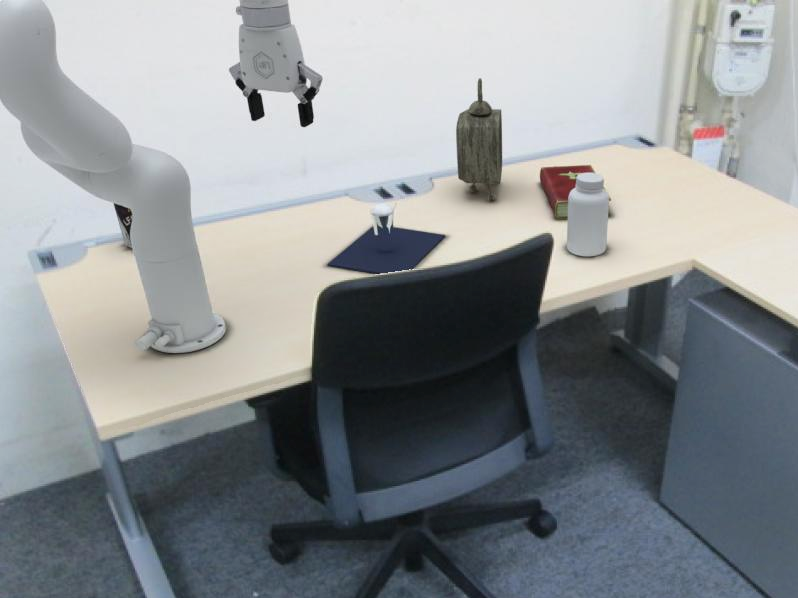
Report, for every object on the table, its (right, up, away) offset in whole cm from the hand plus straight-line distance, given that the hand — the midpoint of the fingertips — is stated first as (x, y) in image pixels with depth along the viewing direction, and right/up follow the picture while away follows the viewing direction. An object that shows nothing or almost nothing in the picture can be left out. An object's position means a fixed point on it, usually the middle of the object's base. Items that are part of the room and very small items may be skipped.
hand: (282, 121), depth 156 cm
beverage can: (-36, -17, +25) cm, 47 cm away
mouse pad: (+14, -18, +23) cm, 33 cm away
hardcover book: (+52, -3, +46) cm, 70 cm away
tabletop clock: (+31, -1, +49) cm, 58 cm away
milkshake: (+14, -18, +23) cm, 33 cm away
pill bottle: (+54, -18, +25) cm, 62 cm away
